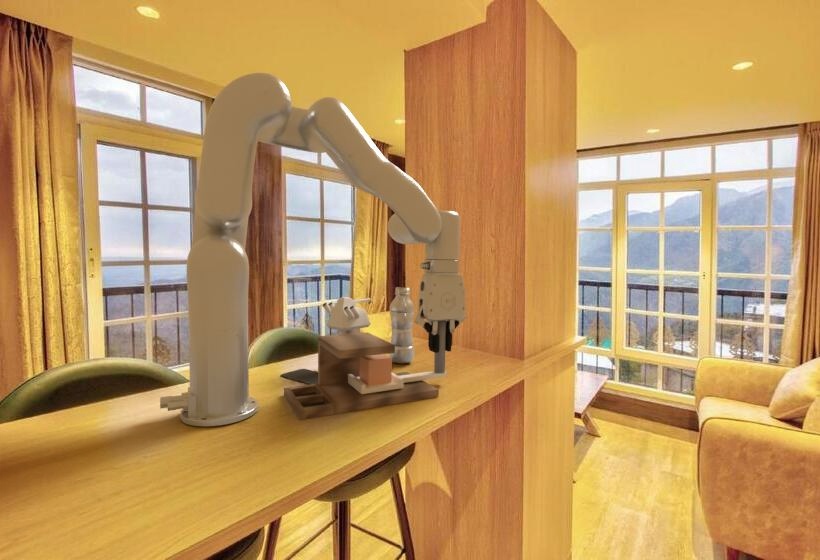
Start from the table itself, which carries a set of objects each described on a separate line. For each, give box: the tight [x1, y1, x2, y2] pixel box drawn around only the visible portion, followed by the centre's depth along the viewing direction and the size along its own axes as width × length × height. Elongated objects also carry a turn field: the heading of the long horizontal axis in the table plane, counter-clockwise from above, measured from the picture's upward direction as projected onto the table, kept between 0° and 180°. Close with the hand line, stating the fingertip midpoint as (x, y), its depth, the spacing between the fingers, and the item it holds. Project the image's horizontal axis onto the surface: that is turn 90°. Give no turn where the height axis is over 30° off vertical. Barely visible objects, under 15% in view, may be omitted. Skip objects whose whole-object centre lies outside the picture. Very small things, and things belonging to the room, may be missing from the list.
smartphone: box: [280, 368, 318, 385], centre depth 96 cm, size 7×1×15 cm
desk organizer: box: [283, 332, 440, 421], centre depth 85 cm, size 28×14×12 cm, turn 118°
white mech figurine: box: [321, 296, 372, 335], centre depth 105 cm, size 12×13×18 cm
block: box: [360, 354, 393, 386], centre depth 86 cm, size 5×5×5 cm
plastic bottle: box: [388, 286, 415, 364], centre depth 111 cm, size 6×7×20 cm
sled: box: [348, 321, 448, 394], centre depth 89 cm, size 21×8×13 cm, turn 118°
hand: (440, 350), depth 93 cm, fingers closed on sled, 2 cm apart
